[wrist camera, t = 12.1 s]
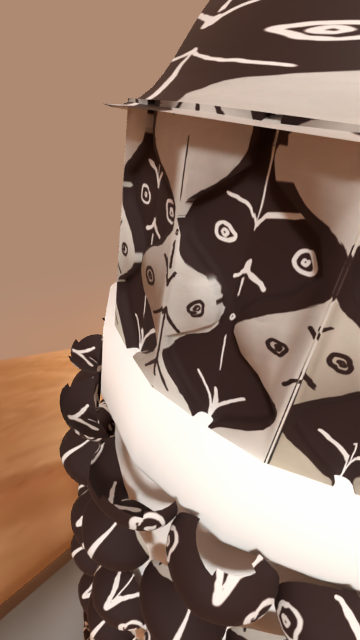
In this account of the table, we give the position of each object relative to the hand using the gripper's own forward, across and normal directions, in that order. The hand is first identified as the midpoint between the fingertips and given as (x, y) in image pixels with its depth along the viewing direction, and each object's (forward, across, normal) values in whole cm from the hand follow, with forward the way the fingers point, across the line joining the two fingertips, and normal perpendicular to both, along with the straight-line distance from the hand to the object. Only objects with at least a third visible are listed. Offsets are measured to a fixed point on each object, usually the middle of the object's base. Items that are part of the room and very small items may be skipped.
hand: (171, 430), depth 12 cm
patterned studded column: (-2, +2, -15) cm, 15 cm away
